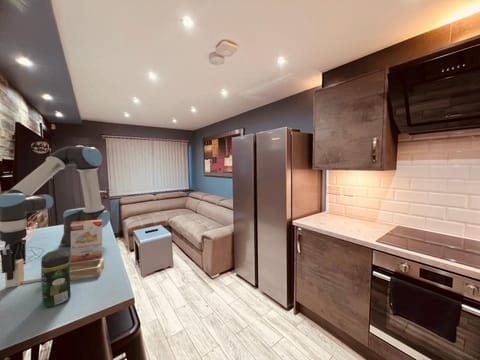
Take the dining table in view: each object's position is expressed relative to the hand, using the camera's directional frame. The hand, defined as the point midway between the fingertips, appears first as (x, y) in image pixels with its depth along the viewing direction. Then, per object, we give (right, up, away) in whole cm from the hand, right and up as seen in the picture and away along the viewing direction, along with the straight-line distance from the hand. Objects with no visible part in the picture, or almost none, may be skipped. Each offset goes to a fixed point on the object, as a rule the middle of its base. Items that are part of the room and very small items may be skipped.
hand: (15, 283), depth 85 cm
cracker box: (+10, 0, +27) cm, 29 cm away
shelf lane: (+21, -1, +10) cm, 23 cm away
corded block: (+6, -1, +3) cm, 7 cm away
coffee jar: (+27, -2, -9) cm, 28 cm away
